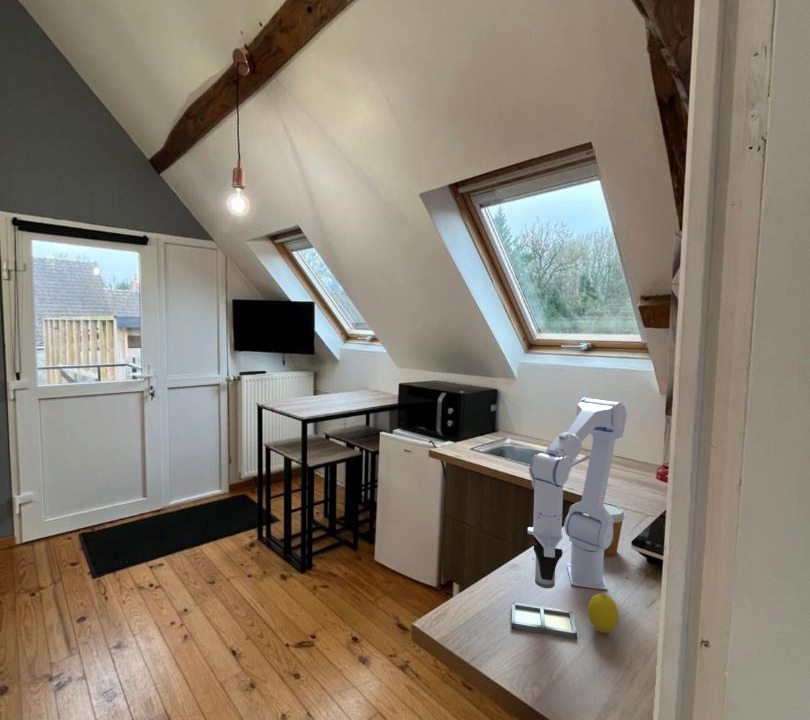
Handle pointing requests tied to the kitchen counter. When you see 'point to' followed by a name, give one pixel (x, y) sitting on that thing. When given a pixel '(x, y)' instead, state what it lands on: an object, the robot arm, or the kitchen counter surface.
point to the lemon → (603, 613)
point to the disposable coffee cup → (614, 526)
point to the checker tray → (543, 620)
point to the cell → (540, 581)
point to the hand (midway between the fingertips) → (546, 572)
